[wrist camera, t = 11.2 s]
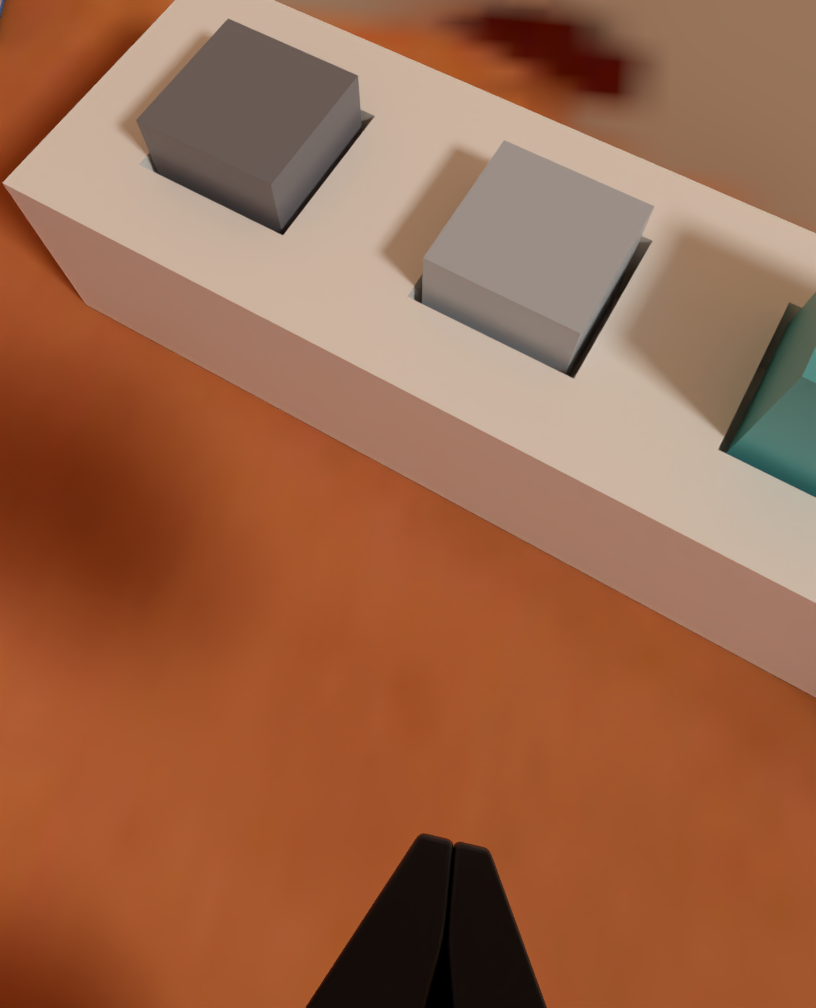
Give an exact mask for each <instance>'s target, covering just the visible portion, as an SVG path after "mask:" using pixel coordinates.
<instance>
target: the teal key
mask: <svg viewBox="0 0 816 1008" xmlns="http://www.w3.org/2000/svg"><path fill="white" fill-rule="evenodd" d="M726 454H728V455H730V456H732V457H734V458H736V459H738V460H740V461H742V462H744V463H746V464H748V465H751V466H753V467H755V468H757V469H759V470H761V471H763V472H765V473H767V474H769V475H771V476H773V477H775V478H777V479H779V480H781V481H783V482H785V483H787V484H789V485H791V486H793V487H795V488H797V489H799V490H801V491H803V492H805V493H807V494H809V495H811V496H814V497H816V292H815V293H814V294H813V296H812V297H811V298H810V299H809V300H808V301H807V303H806V304H805V305H804V306H803V307H802V309H801V310H800V311H799V312H798V313H797V315H796V316H795V317H794V318H793V319H792V321H791V322H790V323H789V324H788V325H787V327H786V329H785V331H784V333H783V336H782V338H781V340H780V342H779V344H778V346H777V348H776V350H775V352H774V354H773V356H772V359H771V361H770V363H769V365H768V367H767V369H766V371H765V373H764V375H763V377H762V380H761V382H760V384H759V386H758V388H757V390H756V392H755V394H754V396H753V398H752V400H751V403H750V405H749V407H748V409H747V411H746V413H745V415H744V417H743V419H742V421H741V424H740V426H739V428H738V430H737V432H736V434H735V436H734V438H733V440H732V442H731V444H730V447H729V449H728V451H727V453H726Z"/></svg>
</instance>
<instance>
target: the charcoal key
mask: <svg viewBox="0 0 816 1008" xmlns="http://www.w3.org/2000/svg"><path fill="white" fill-rule="evenodd" d="M136 121H137V124H138V126H139V128H140V131H141V133H142V136H143V138H144V140H145V143H146V145H147V148H148V150H149V152H150V155H151V157H152V160H153V162H154V164H155V167H156V169H157V172H158V174H159V175H161V176H163V177H165V178H167V179H169V180H171V181H173V182H175V183H177V184H179V185H181V186H183V187H185V188H187V189H189V190H191V191H193V192H195V193H198V194H200V195H202V196H204V197H206V198H208V199H210V200H212V201H214V202H216V203H218V204H220V205H222V206H224V207H226V208H228V209H230V210H232V211H234V212H236V213H238V214H240V215H242V216H244V217H246V218H248V219H250V220H252V221H254V222H256V223H259V224H261V225H263V226H265V227H267V228H269V229H271V230H273V231H275V232H277V233H279V234H281V235H284V234H285V232H286V231H287V230H288V228H289V227H290V226H291V224H292V223H293V222H294V221H295V219H296V218H297V217H298V215H299V214H300V213H301V212H302V210H303V209H304V208H305V206H306V205H307V204H308V202H309V201H310V200H311V199H312V197H313V196H314V195H315V193H316V192H317V191H318V189H319V188H320V187H321V186H322V184H323V183H324V182H325V180H326V179H327V178H328V176H329V175H330V174H331V173H332V171H333V170H334V169H335V167H336V166H337V165H338V163H339V162H340V161H341V160H342V158H343V157H344V156H345V154H346V153H347V152H348V151H349V149H350V148H351V147H352V145H353V144H354V143H355V141H356V140H357V139H358V138H359V136H360V135H361V134H362V123H361V109H360V95H359V81H358V75H356V74H353V73H351V72H349V71H347V70H344V69H342V68H340V67H337V66H335V65H333V64H331V63H328V62H326V61H324V60H322V59H319V58H317V57H315V56H312V55H310V54H308V53H306V52H303V51H301V50H299V49H297V48H294V47H292V46H290V45H287V44H285V43H283V42H281V41H278V40H276V39H274V38H272V37H269V36H267V35H265V34H263V33H260V32H258V31H256V30H253V29H251V28H249V27H247V26H244V25H242V24H240V23H238V22H235V21H233V20H231V19H227V20H226V21H225V22H224V23H223V25H222V26H221V27H220V28H219V29H218V30H217V31H216V32H215V33H214V34H213V36H212V37H211V38H210V39H209V40H208V41H207V42H206V43H205V44H204V46H203V47H202V48H201V49H200V50H199V51H198V52H197V53H196V54H195V55H194V57H193V58H192V59H191V60H190V61H189V62H188V63H187V64H186V65H185V67H184V68H183V69H182V70H181V71H180V72H179V73H178V74H177V75H176V76H175V78H174V79H173V80H172V81H171V82H170V83H169V84H168V85H167V86H166V88H165V89H164V90H163V91H162V92H161V93H160V94H159V95H158V96H157V97H156V99H155V100H154V101H153V102H152V103H151V104H150V105H149V106H148V107H147V109H146V110H145V111H144V112H143V113H142V114H141V115H140V116H139V117H138V118H137V120H136Z"/></svg>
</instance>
